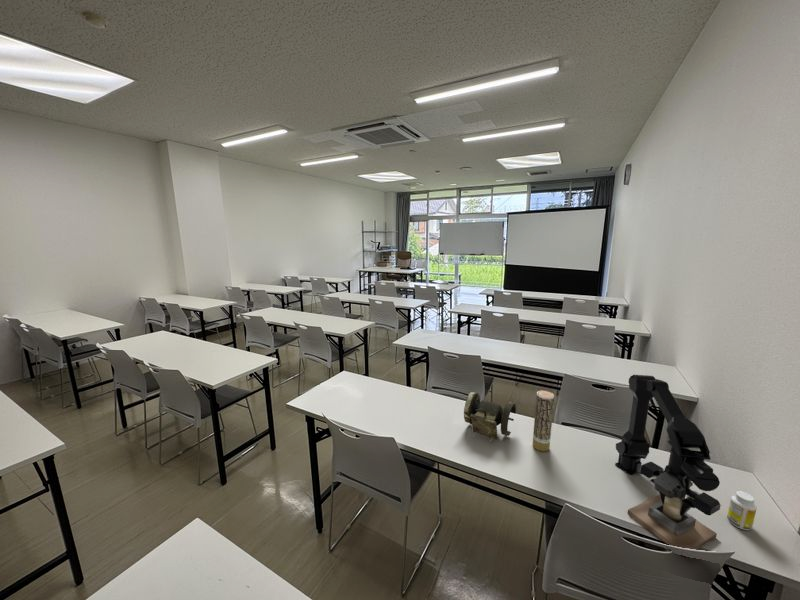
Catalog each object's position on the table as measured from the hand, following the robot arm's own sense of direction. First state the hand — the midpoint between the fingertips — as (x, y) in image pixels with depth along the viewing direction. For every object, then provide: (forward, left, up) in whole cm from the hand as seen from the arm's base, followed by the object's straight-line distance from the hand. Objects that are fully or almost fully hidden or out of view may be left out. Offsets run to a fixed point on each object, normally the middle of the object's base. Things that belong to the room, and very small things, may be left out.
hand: (672, 509), depth 101 cm
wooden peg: (0, 0, -2) cm, 3 cm away
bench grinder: (-63, -23, -6) cm, 67 cm away
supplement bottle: (+8, +21, -6) cm, 23 cm away
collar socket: (0, 0, -6) cm, 6 cm away
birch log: (-45, -8, -6) cm, 46 cm away
